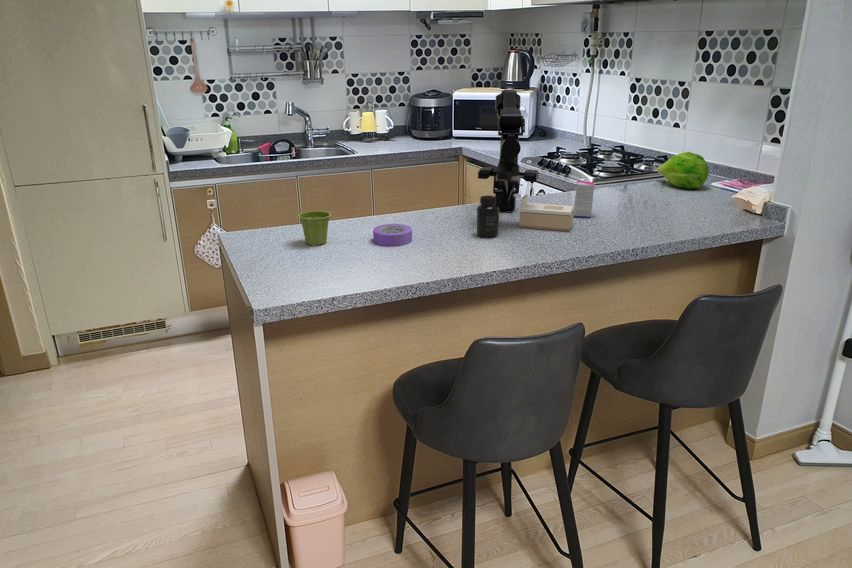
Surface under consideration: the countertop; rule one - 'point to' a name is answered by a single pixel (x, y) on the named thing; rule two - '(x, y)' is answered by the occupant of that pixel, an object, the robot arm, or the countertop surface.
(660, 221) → the countertop surface
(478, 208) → the supplement bottle
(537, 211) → the lid
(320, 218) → the plant pot
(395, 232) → the masking tape
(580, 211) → the supplement box
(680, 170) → the lettuce
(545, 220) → the base
